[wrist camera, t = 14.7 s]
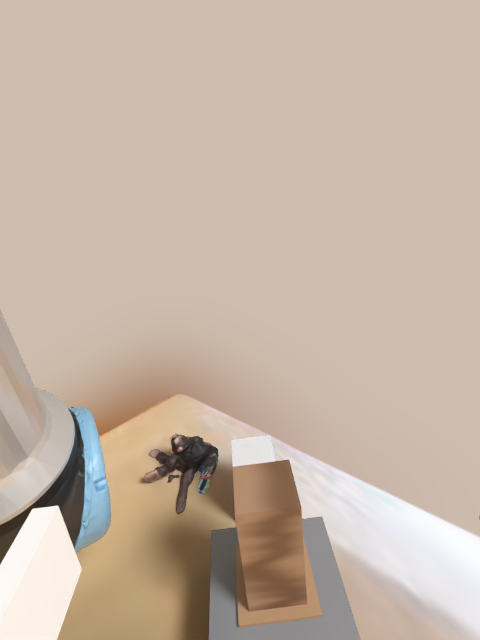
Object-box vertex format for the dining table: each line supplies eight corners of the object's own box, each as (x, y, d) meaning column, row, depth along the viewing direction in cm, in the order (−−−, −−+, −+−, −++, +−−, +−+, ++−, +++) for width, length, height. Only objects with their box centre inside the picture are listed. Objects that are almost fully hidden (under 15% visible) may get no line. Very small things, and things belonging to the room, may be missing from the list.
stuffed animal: (194, 425, 64) (218, 417, 54) (215, 479, 62) (244, 482, 52) (129, 455, 58) (142, 452, 48) (150, 516, 56) (168, 527, 46)
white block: (240, 525, 45) (232, 467, 42) (238, 493, 50) (231, 439, 47) (281, 520, 45) (275, 462, 42) (275, 489, 50) (270, 435, 47)
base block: (216, 706, 29) (207, 667, 28) (217, 563, 41) (211, 528, 39) (362, 687, 30) (363, 646, 28) (323, 549, 41) (321, 514, 39)
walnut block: (249, 611, 31) (234, 514, 27) (245, 555, 36) (232, 466, 32) (307, 604, 31) (300, 506, 27) (295, 549, 36) (288, 459, 32)
